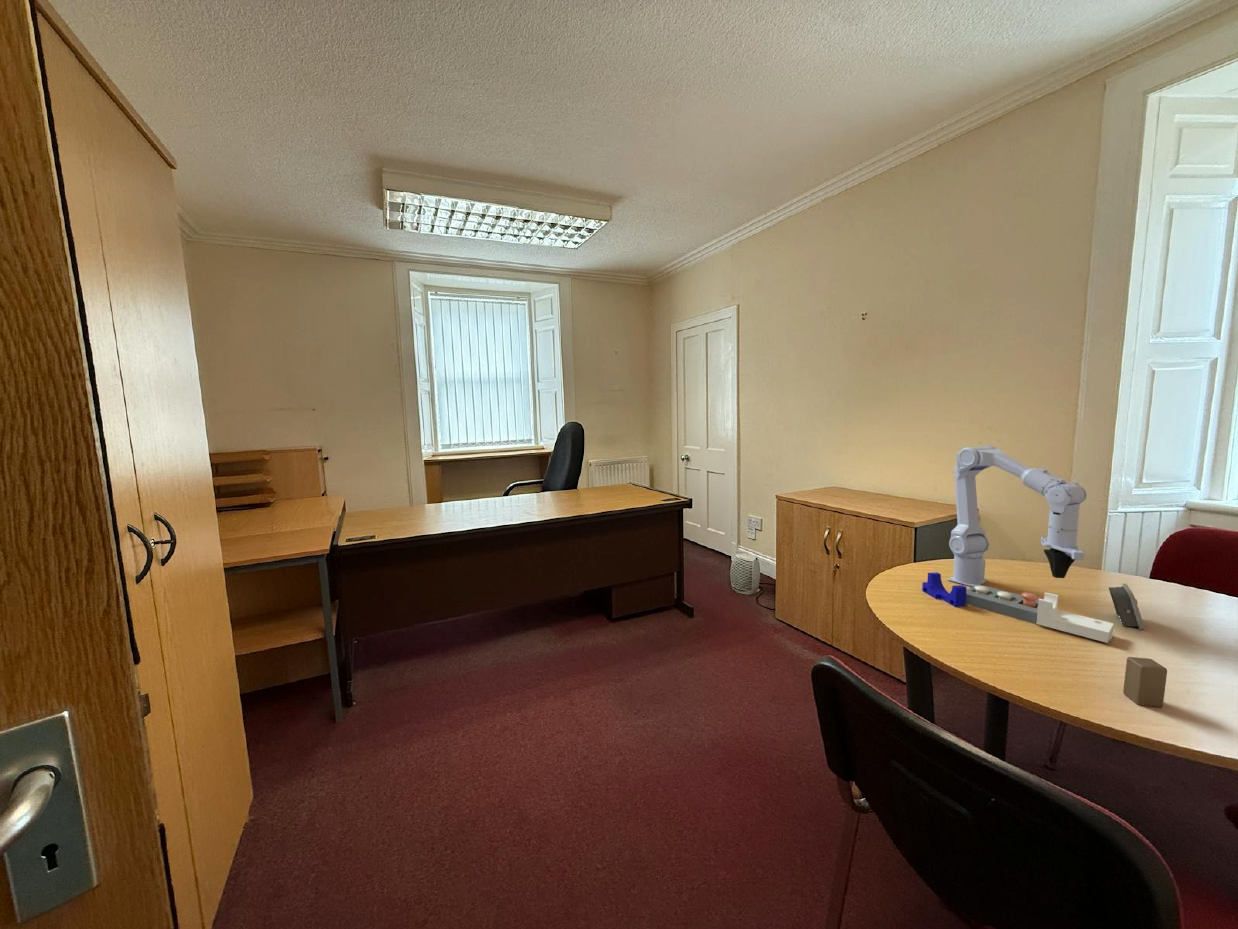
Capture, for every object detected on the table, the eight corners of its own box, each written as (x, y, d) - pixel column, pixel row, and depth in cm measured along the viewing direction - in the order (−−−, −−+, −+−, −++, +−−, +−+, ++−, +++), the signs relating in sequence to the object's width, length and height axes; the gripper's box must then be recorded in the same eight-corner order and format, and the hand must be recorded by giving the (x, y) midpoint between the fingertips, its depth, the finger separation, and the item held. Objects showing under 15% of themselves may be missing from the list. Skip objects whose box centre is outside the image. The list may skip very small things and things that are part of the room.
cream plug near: (976, 597, 141) (977, 584, 141) (990, 600, 138) (991, 588, 138) (971, 599, 139) (972, 587, 139) (985, 603, 137) (986, 591, 136)
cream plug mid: (999, 603, 137) (1000, 590, 136) (1013, 607, 134) (1014, 594, 133) (994, 606, 135) (995, 593, 134) (1009, 610, 132) (1010, 597, 131)
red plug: (1023, 604, 132) (1024, 591, 131) (1039, 608, 129) (1040, 595, 129) (1018, 607, 130) (1019, 594, 130) (1034, 612, 127) (1035, 598, 127)
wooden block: (1146, 696, 94) (1151, 658, 93) (1163, 708, 90) (1168, 669, 89) (1121, 693, 95) (1126, 655, 94) (1137, 705, 91) (1142, 666, 90)
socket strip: (977, 593, 144) (977, 584, 144) (1049, 613, 130) (1050, 602, 130) (960, 602, 138) (961, 592, 138) (1035, 624, 124) (1036, 613, 124)
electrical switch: (1145, 631, 119) (1143, 595, 118) (1115, 628, 122) (1114, 592, 122) (1136, 618, 126) (1135, 583, 125) (1109, 614, 129) (1107, 581, 129)
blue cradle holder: (922, 591, 148) (923, 573, 147) (936, 591, 148) (937, 572, 147) (949, 607, 136) (951, 587, 135) (965, 607, 136) (966, 587, 135)
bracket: (1036, 627, 123) (1038, 599, 122) (1043, 619, 127) (1045, 592, 126) (1107, 646, 113) (1110, 616, 112) (1112, 637, 117) (1115, 608, 116)
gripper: (1029, 521, 135) (1025, 567, 136) (1061, 534, 121) (1057, 586, 122) (1059, 522, 133) (1055, 568, 134) (1095, 536, 119) (1090, 588, 121)
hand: (1058, 577), depth 128 cm, fingers closed
